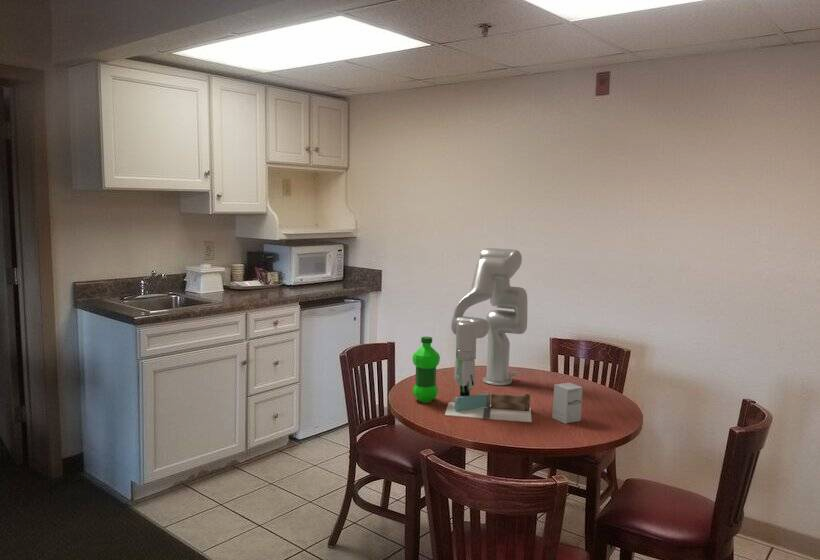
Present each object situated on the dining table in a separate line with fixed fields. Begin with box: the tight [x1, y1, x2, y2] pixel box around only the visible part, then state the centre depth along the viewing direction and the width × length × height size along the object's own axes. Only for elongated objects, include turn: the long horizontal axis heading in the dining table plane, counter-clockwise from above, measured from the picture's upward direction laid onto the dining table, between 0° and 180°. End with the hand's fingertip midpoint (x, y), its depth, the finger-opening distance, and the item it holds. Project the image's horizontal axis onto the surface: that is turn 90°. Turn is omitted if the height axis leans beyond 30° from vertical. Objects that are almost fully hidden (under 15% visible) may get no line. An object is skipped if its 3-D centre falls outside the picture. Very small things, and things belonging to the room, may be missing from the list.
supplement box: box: [551, 382, 584, 424], centre depth 221 cm, size 7×7×13 cm
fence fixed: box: [490, 393, 531, 411], centre depth 230 cm, size 14×2×6 cm, turn 80°
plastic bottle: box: [412, 336, 441, 403], centre depth 239 cm, size 10×10×25 cm
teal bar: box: [454, 392, 491, 411], centre depth 229 cm, size 15×2×5 cm, turn 113°
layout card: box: [444, 401, 533, 423], centre depth 227 cm, size 31×16×1 cm, turn 80°
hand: (464, 401), depth 231 cm, fingers closed
